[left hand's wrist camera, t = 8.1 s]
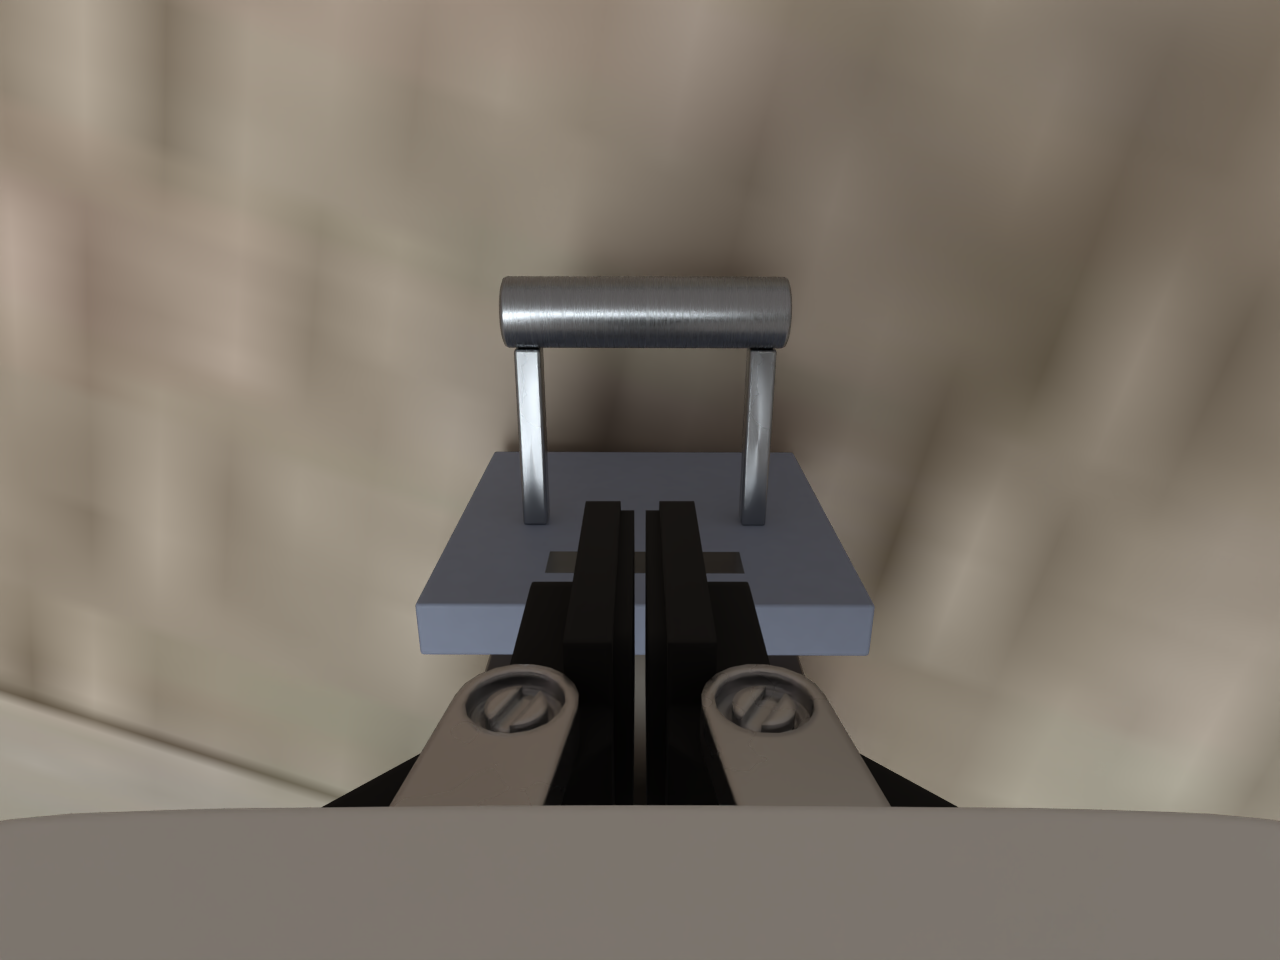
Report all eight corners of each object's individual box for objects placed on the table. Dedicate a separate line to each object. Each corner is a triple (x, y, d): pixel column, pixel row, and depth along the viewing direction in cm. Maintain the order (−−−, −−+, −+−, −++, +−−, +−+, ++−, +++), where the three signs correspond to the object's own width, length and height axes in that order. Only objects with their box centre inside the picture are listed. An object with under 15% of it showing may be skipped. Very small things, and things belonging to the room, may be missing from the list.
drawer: (480, 253, 22) (379, 305, 14) (808, 254, 22) (913, 307, 14) (523, 881, 31) (477, 1158, 22) (760, 882, 31) (806, 1160, 22)
